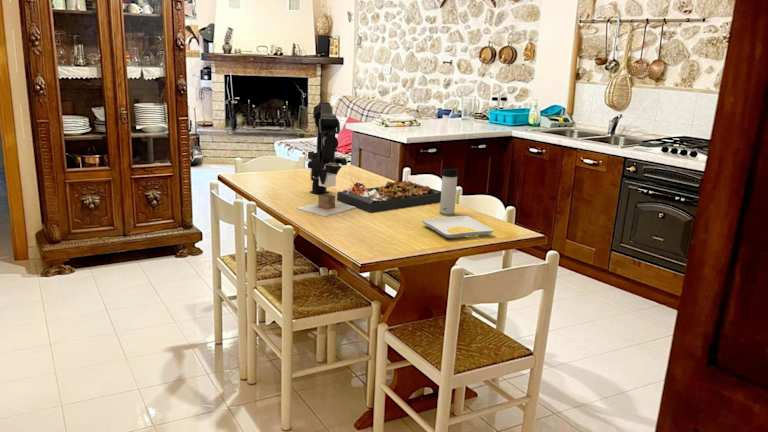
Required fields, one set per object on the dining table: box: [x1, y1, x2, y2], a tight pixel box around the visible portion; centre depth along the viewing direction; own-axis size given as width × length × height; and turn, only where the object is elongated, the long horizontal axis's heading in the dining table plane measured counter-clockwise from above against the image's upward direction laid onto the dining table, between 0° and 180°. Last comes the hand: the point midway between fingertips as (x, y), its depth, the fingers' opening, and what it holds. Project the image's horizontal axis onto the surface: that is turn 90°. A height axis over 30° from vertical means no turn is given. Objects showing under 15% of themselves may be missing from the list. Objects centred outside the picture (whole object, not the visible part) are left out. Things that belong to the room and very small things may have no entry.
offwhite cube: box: [319, 172, 337, 188], centre depth 262 cm, size 5×5×5 cm
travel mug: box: [439, 168, 459, 216], centre depth 264 cm, size 6×7×20 cm
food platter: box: [336, 178, 441, 214], centre depth 284 cm, size 45×25×10 cm, turn 128°
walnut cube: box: [317, 193, 336, 209], centre depth 264 cm, size 5×5×5 cm
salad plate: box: [421, 215, 494, 239], centre depth 241 cm, size 21×21×3 cm
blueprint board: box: [296, 201, 357, 218], centre depth 265 cm, size 20×16×1 cm
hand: (327, 183), depth 262 cm, fingers closed on offwhite cube, 5 cm apart
